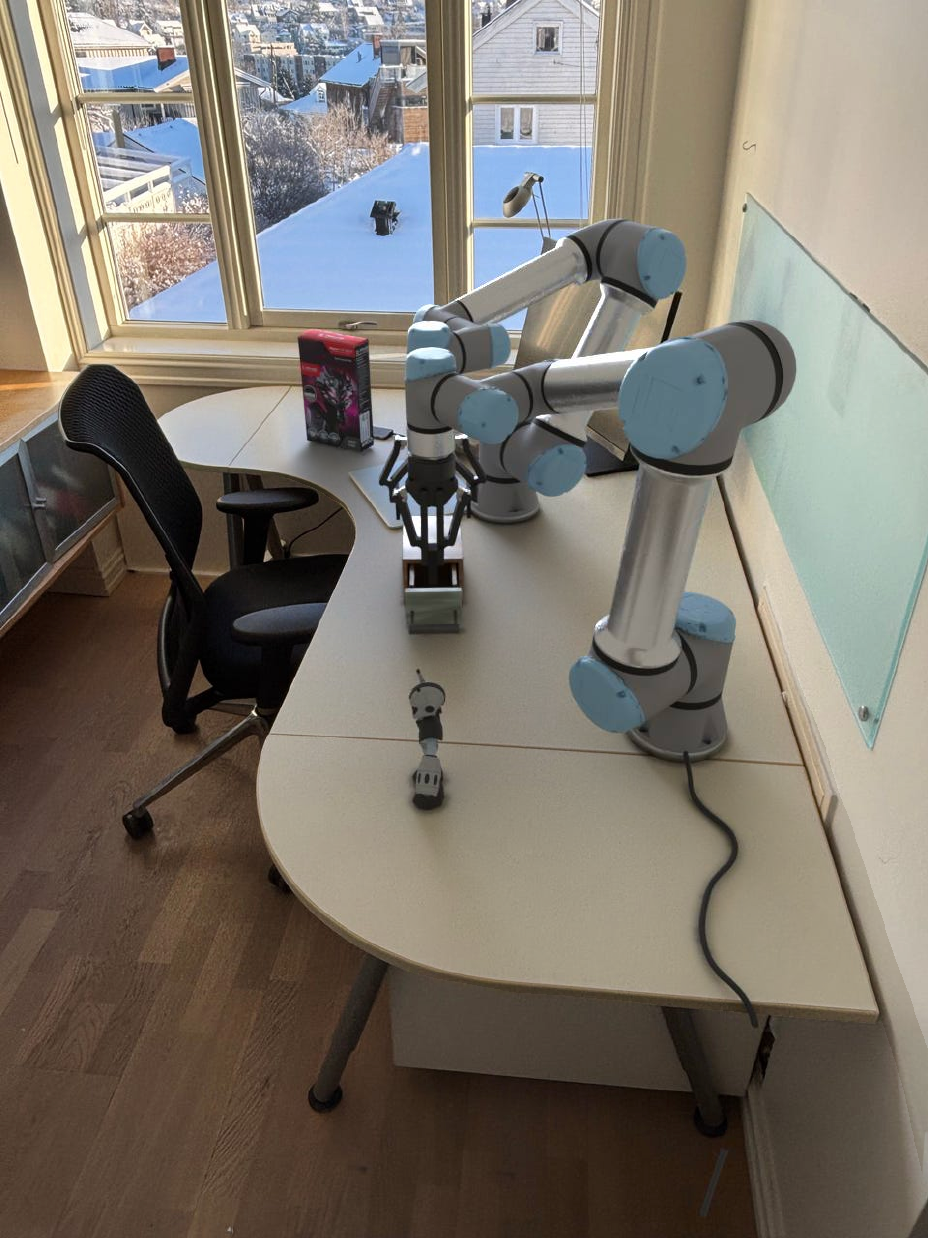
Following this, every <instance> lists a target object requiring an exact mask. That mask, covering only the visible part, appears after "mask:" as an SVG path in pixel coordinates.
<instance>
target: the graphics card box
mask: <svg viewBox="0 0 928 1238" xmlns="http://www.w3.org/2000/svg"><path fill="white" fill-rule="evenodd" d="M297 345H298V346H297V347H298V355H299V356H298V357H299V367H300V377H301V389H302V399H303V410H304V411H303V412H304V421H305V422H304V423H305V433H306V441H307V442H311V443H316V444H320V445H324V446H329V447H333V448H338V449H342V450H346V451H350V452H354V453H359V454H360V453H363V452H364V451H366V450H368V449H369V448H371V447H373V446H374V445H375V436H374V418H373V417H374V416H373V403H372V402H373V401H372V383H371V382H372V380H371V361H370V339H369V338H368V337H360V336H355V335H354V336H353V335H349V334H344V333H343V334H342V333H338V332H332V331H327V330H321V329H316V328H310V329H307V330H305V331H303V332H301V334H300V333H299V335H298V336H297Z"/></svg>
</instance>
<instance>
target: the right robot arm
mask: <svg viewBox="0 0 928 1238" xmlns="http://www.w3.org/2000/svg"><path fill="white" fill-rule="evenodd" d="M404 366H405V367H404V369H405V370H404V379H403V383H404V396H405V397H404V398H405V415H406V417H405V418H406V425H405V427H406V438H407V445H406V450H407V451H408V452H407V454H406V455H407V456H406V459H407V463H408V472H407V477H406V479H405V482H404V485H403V486H401V487H399V489H397V488H396V489H394V490H393V494H392V500H393V501H394V502H395V503H394V505H395V506H396V505H397V506H398V508H399V510H400V513H401V515H400V517H401V519H402V523H403V527H404V526H405V530H406V533H407V536H408V539H409V543H410V545H411V546H412V547H419V548H420V549H421V563H422V565H423V566H428V576H429V585H437V565H443V564H444V549H445V548H446V547H447V546H454V545H455V542H456V538H457V535H458V531H459V527H460V524H461V525H462V520H463V516H464V513H465V510H466V506H467V504H468V503H469V502H470V500H471V490H470V488H466V487H463V486H462V485H460V484H459V480H458V479H457V477H456V470H455V455H456V451H455V434H456V430H457V431H459V432H461V433H463V434H464V435H466V436H468V437H469V438H472V439H474V440H478V441H482V442H485V443H487V444H498V443H501V442H503V441H504V440H505V439H506V437H507V436H508V435H510V434H511V433H512V432H513V431H514V429H515V427H516V424H517V423H520V422H523V421H525V420H528V419H532V418H535V417H538V416H542V415H550V414H561V413H570V412H583V411H594V412H596V411H597V412H598V411H609V410H610V411H611V410H617V411H618V417H619V421H622V422H623V424H624V427H622V431H623V433H624V435H625V437H626V439H627V440H628V441H629V444H630V445H629V451H630V453H631V454H632V456H633V457H634V459H635V460H636V461H637V462H638V463H639V465H638V472H637V475H636V479H635V486H634V491H633V496H632V499H631V504H630V510H629V514H628V520H627V525H626V530H625V535H624V540H623V545H622V551H621V554H620V558H619V559H620V560H619V565H618V570H617V573H616V574H617V575H616V579H615V584H614V589H613V590H614V591H613V594H612V601H611V604H610V608H609V609H610V610H609V614H607V615H605V616H604V617H602V618H601V619H600V620H599V621H598V622H597V623H596V624H595V627H594V630H593V635H592V641H591V645H590V650H589V651H588V653H587V655H585V656H584V655H582V656H580V657H578V658H577V660H576V661H575V662H574V663H573V664H572V665H571V666H570V669H569V672H568V684H569V688H570V691H571V692H570V693H571V694H572V697H573V699H574V701H575V702H576V703H577V706H578V708H579V710H580V711H581V712H582V713H583V714H584V716H585V717H586V718H587V719H588V720H589V721H591V723H593V724H595V726H597V727H598V728H600V729H601V730H603V731H605V732H608V733H612V734H625V733H627V734H628V736H629V738H630V739H631V741H632V742H634V744H636V745H637V746H638V747H639V748H640V749H641V750H643V751H645V752H646V753H648V754H650V755H651V756H654V757H656V758H659V759H662V760H666V761H670V762H675V763H684V764H685V769H686V774H687V786H688V791H689V795H690V797H691V799H692V800H693V802H694V804H695V805H696V806H697V807H698V809H699V810H700V811H701V812H702V813H703V814H704V815H706V816H707V817H708V818H709V819H711V820H712V821H713V822H714V823H716V824H717V825H718V827H720V828H721V829H723V831H724V832H725V833H726V834H727V835H728V837H729V839H730V842H731V854H730V856H729V858H728V860H727V861H726V863H724V865H723V866H721V868H720V869H719V870H717V872H716V873H715V874H714V875H713V876H712V877H711V880H710V881H709V883H708V884H707V886H706V888H705V890H704V893H703V897H702V900H701V906H700V910H699V915H698V937H699V941H700V946H701V949H702V952H703V955H704V957H705V959H706V961H707V964H708V965H709V967H710V968H711V969H712V971H713V972H715V974H716V975H717V976H718V978H720V979H721V980H722V981H723V982H724V983H725V984H726V985H727V986H728V987H729V988H730V989H732V990H733V992H734V993H735V994H736V995H737V996H738V997H739V998H740V1000H741V1002H742V1003H743V1005H744V1008H746V1012H747V1014H748V1016H749V1020H750V1024H751V1027H753V1028H754V1029H758V1028H759V1020H758V1017H757V1012H756V1010H755V1008H754V1006H753V1004H752V1001H751V1000H750V998H749V997H748V995H747V994H746V993H745V991H744V990H743V989H742V988H741V987H740V986H739V985H738V983H736V981H734V980H733V979H732V978H731V977H730V976H729V975H728V974H727V973H726V972H725V971H724V970H723V969H721V967H720V966H719V965H718V964H717V963H716V961H715V960H714V957H713V956H712V954H711V951H710V948H709V944H708V940H707V935H706V917H707V911H708V907H709V903H710V899H711V894H712V892H713V889H714V887H715V885H717V883H718V881H719V880H720V879H722V877H723V876H724V875H725V874H726V873H727V872H728V871H729V870H730V868H731V867H732V866H733V865H734V863H735V862H736V860H737V857H738V854H739V843H738V840H737V836H736V834H735V833H734V831H733V830H732V829H731V827H729V825H728V824H727V823H726V822H725V821H724V820H722V819H721V818H719V817H718V816H717V815H716V814H714V813H713V812H712V811H710V809H708V807H706V806H705V804H703V802H702V801H701V800H700V799H699V797H698V795H697V793H696V790H695V786H694V785H695V784H694V775H693V769H692V765H691V763H694V762H700V761H703V760H706V759H709V758H711V757H714V755H716V754H718V752H720V751H721V750H722V748H723V747H724V744H725V743H726V740H727V739H726V738H727V734H728V721H727V716H726V712H725V708H724V707H725V706H724V701H723V692H724V686H725V682H726V678H727V674H728V669H729V664H730V659H731V654H732V651H733V647H734V642H735V640H736V635H735V634H736V627H737V619H736V617H735V615H734V613H733V611H732V609H731V608H730V607H728V606H727V605H726V604H725V603H723V602H722V601H720V600H719V599H717V598H714V597H712V596H709V595H707V594H702V593H699V592H692V591H685V589H686V585H687V582H688V578H689V573H690V570H691V566H692V562H693V558H694V554H695V550H696V547H697V543H698V538H699V535H700V531H701V528H702V524H703V521H704V517H705V512H706V508H707V504H708V502H709V498H710V493H711V489H712V485H713V482H714V478H716V477H718V476H720V475H723V474H724V473H726V472H727V471H729V469H730V468H731V466H732V463H733V459H734V456H735V452H736V448H737V445H738V442H739V438H740V435H741V432H742V430H743V429H745V428H746V427H747V428H748V427H749V426H751V425H754V424H756V423H758V422H760V421H762V420H764V419H767V418H769V417H771V415H773V414H774V413H775V412H777V411H778V410H779V409H780V408H781V407H782V406H783V405H784V403H786V401H787V399H788V397H789V396H790V394H791V392H792V390H793V387H794V384H795V382H796V378H797V377H796V376H797V359H796V356H795V351H794V349H793V347H792V345H791V343H790V341H789V340H788V337H786V335H785V334H784V333H783V332H781V331H780V330H779V329H778V328H777V327H775V326H773V325H772V324H769V323H767V322H763V321H760V320H757V319H756V320H755V319H740V320H735V321H732V322H731V321H730V322H728V323H724V324H721V325H718V326H716V327H713V328H709V329H706V330H703V331H700V332H697V333H694V334H691V335H683V336H678V337H673V338H670V339H667V340H665V341H663V342H662V343H660V344H658V345H656V346H654V347H647V348H646V347H645V348H639V349H632V350H624V352H617V353H610V354H603V355H596V356H589V357H582V358H575V359H572V358H568V359H563V358H554V359H553V358H552V359H551V358H550V359H544V360H541V361H538V362H536V363H534V364H530V365H528V366H524V367H521V368H517V369H514V370H512V371H511V370H510V371H506V372H501V373H499V374H495V375H492V376H489V377H486V378H482V379H478V380H477V379H472V378H470V377H467V376H464V375H463V374H458V373H456V369H457V367H456V360H455V356H454V355H453V354H452V352H450V351H448V350H445V349H441V348H422V349H418V350H415V351H413V352H411V353H410V354H409V355H408V356H407V355H406V357H405V365H404ZM408 494H409V496H410V497H411V498H412V499H413V501H415V503H416V504H417V505H418V506H419V516H420V519H421V537H419V536H417V533H416V530H415V527H414V523H413V520H412V517H411V516H412V514H411V510H410V507H409V504H408V503H409V502H408V498H409V496H408ZM454 495H455V498H456V502H455V506H454V510H453V514H452V516H453V517H452V521H451V524H450V528H449V532H448V536H445V537H444V516H445V505H447V504H448V502H449V501H450V500H451V499H452V497H453V496H454ZM432 507H433V508H435V516H436V528H437V543H428V516H429V508H432ZM728 1152H729V1150H728V1149H725V1148H723V1147H721V1150H720V1153H719V1155H718V1159H717V1161H716V1164H715V1166H714V1170H713V1173H712V1176H711V1179H710V1181H709V1184H708V1188H707V1191H706V1194H705V1197H704V1200H703V1203H702V1206H701V1210H700V1213H699V1215H700V1216H701V1218H706V1216H707V1215H708V1211H709V1208H710V1207H709V1206H710V1204H711V1201H712V1198H713V1195H714V1192H715V1189H716V1187H717V1183H718V1181H719V1177H720V1175H721V1172H722V1169H723V1166H724V1163H725V1161H726V1158H727V1155H728Z"/></svg>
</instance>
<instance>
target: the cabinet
mask: <svg viewBox="0 0 928 1238" xmlns="http://www.w3.org/2000/svg"><path fill="white" fill-rule="evenodd" d="M411 517H412V520H413V523H414V527H415V530H416V533H417V536H419V537H421V519H420V515H411ZM452 517H453V515H444V537H445V536H448V532H449V528H450V524H451V521H452ZM402 532H403V533H402V558H401V560H402V585H403V586H402V589H403V590H402V591H403V604H404V605H405V589H406V588H410V586H409V584H410V563H421V549H420V548H419V547H412V546H411V545H410V543H409V539H408V536H407V533H406V530H405V526H404V525H403V528H402ZM462 535H463V534H462V523H461V524H460V527H459V531H458V535H457V538H456V542H455V545H454V546H447V547H446V548H445V549H444V563H456V574H457V588H462V604H464V551H463V537H462ZM428 543H437V528H436V515H428Z"/></svg>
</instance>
